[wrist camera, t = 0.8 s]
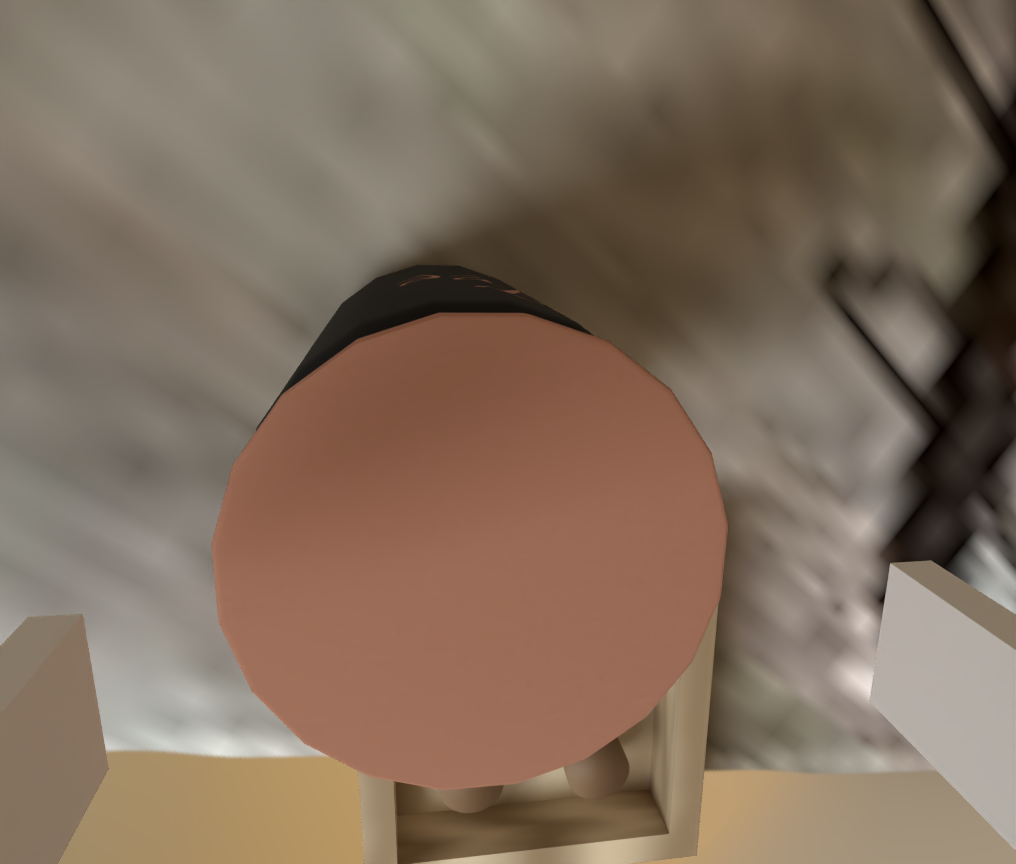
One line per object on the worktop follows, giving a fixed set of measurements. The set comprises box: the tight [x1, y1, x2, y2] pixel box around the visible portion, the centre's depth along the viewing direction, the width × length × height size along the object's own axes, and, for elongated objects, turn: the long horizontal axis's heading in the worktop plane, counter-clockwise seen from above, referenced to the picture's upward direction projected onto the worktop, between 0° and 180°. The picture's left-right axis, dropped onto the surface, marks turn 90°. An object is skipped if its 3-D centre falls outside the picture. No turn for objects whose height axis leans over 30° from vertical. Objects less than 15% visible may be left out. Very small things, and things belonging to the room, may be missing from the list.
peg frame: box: [358, 604, 718, 864], centre depth 35 cm, size 16×16×4 cm
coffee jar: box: [211, 265, 728, 790], centre depth 24 cm, size 11×11×18 cm
